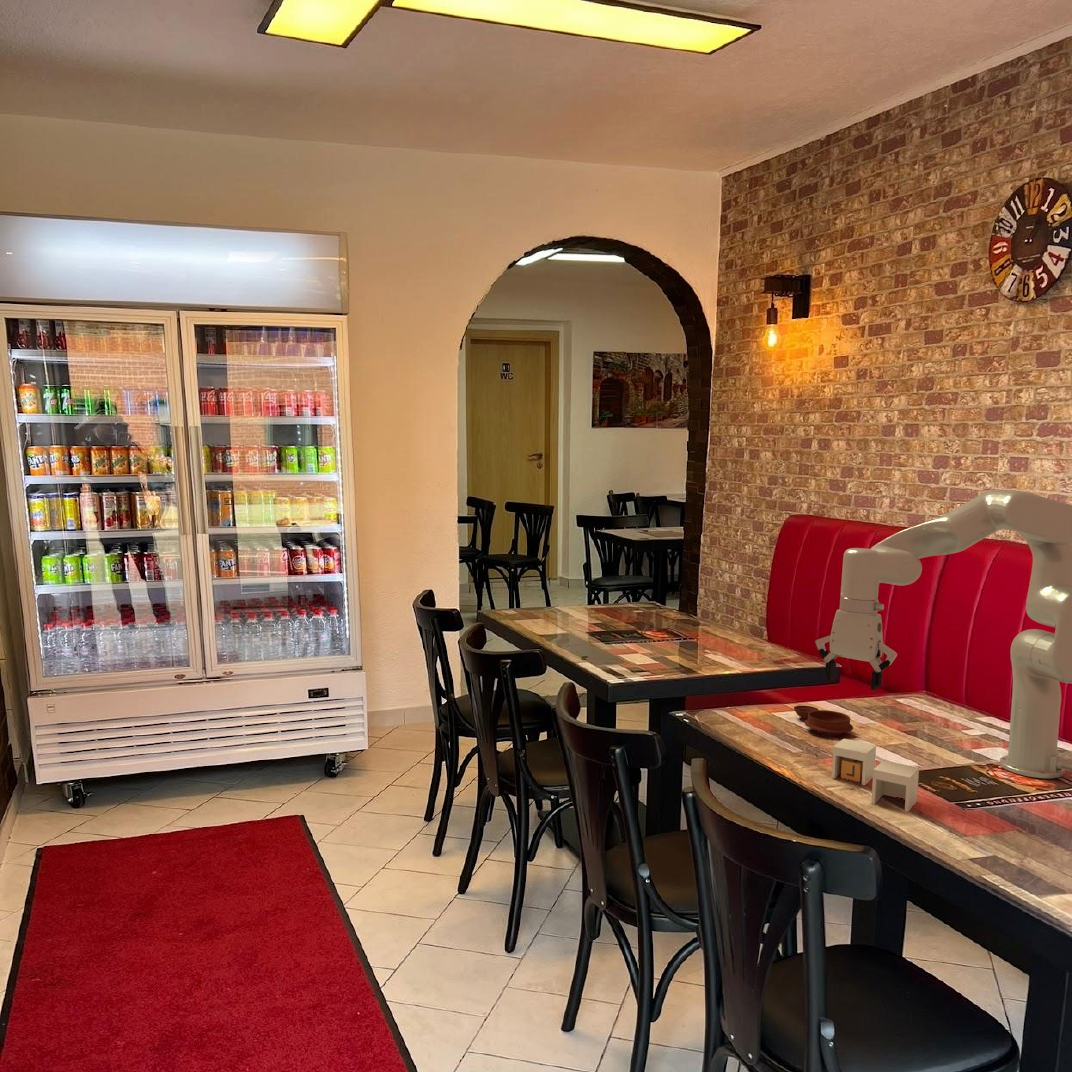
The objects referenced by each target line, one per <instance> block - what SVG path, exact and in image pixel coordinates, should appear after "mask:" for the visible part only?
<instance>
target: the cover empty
mask: <svg viewBox="0 0 1072 1072" xmlns="http://www.w3.org/2000/svg"><path fill="white" fill-rule="evenodd" d="M919 773H920V767H917V766H912V765H907V764H903V763H899V762H893V761H889V760H884V759H882V761H881V762H880V763H879V764H877V766H876V765H875V768H874V769H873V778H872V784H871V785H872V786H871V802H870V803H871V804H874V805H875V804H876V803H877V802H878V801H879V800H880V799H881V798H882V796H889V797H891V798H896V797H900V798H904V799H903V800H905V803H904V812H906V811H907V812H906V813H909V812H910V810H911V809H912V808H913V807H914V806H915V805H916V804H917V802H918V790H919ZM880 797H881V798H880ZM900 798H899V799H900ZM913 805H914V806H913ZM912 806H913V807H912Z"/></svg>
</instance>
